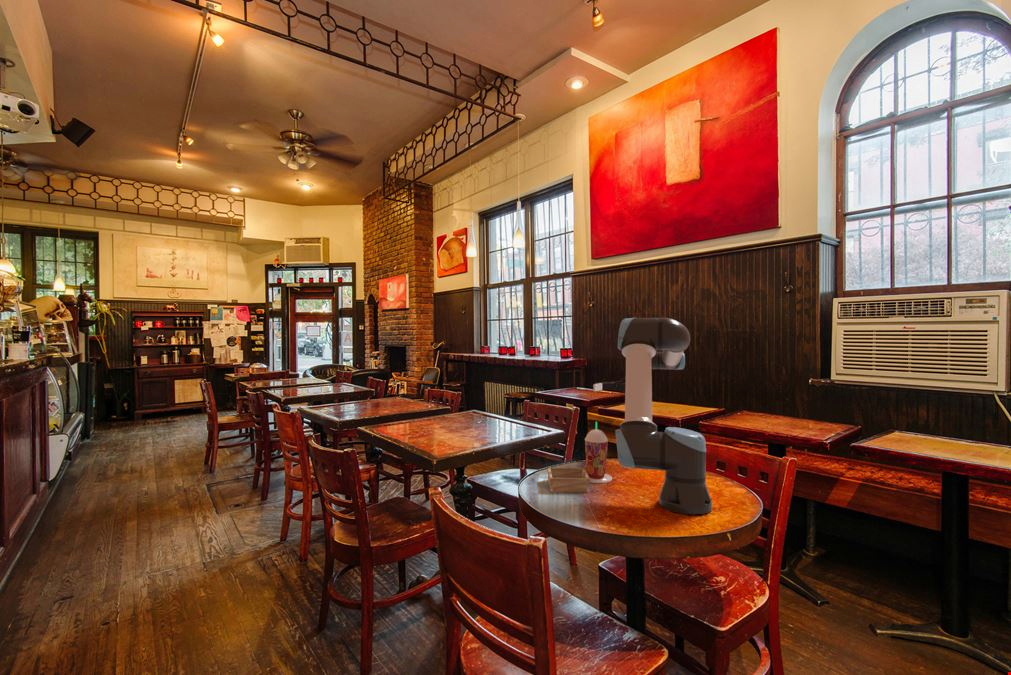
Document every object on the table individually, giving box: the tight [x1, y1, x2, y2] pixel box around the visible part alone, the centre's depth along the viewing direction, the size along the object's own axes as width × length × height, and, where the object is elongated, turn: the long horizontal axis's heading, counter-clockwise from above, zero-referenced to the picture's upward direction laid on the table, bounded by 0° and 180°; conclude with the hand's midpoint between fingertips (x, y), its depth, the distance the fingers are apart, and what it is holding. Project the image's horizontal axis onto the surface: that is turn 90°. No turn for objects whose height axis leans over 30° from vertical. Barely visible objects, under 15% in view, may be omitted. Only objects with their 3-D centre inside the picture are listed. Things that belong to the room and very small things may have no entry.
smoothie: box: [584, 421, 609, 479], centre depth 170 cm, size 8×8×20 cm
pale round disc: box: [586, 471, 613, 484], centre depth 170 cm, size 12×12×1 cm
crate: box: [547, 466, 590, 493], centre depth 161 cm, size 13×13×4 cm
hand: (610, 389), depth 178 cm, fingers open, 13 cm apart
